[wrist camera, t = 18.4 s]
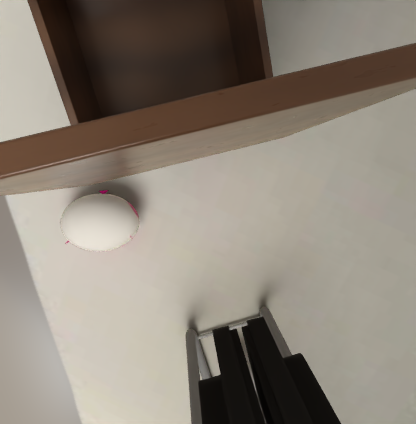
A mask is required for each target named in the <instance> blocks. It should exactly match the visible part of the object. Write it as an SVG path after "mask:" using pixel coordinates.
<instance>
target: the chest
mask: <svg viewBox="0 0 416 424" xmlns="http://www.w3.org/2000/svg"><path fill="white" fill-rule="evenodd" d="M27 1H28V3H29V6H30V9H31V12H32V15H33V18H34V21H35V24H36V26H37V29H38V32H39V35H40V38H41V41H42V44H43V46H44V49H45V52H46V55H47V58H48V61H49V64H50V66H51V69H52V72H53V75H54V78H55V81H56V84H57V87H58V89H59V92H60V95H61V98H62V101H63V104H64V107H65V109H66V112H67V115H68V118H69V121H70V124H71V125H75V124H79V123H83V122H87V121H91V120H96V119H100V118H104V117H108V116H112V115H116V114H121V113H125V112H129V111H133V110H137V109H142V108H146V107H150V106H154V105H158V104H162V103H167V102H171V101H175V100H179V99H183V98H188V97H192V96H196V95H200V94H204V93H208V92H213V91H217V90H221V89H225V88H229V87H233V86H238V85H242V84H246V83H250V82H254V81H259V80H263V79H267V78H271V77H273V73H272V66H271V60H270V53H269V47H268V40H267V34H266V27H265V21H264V14H263V8H262V1H261V0H27Z"/></svg>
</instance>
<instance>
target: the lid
mask: <svg viewBox="0 0 416 424" xmlns="http://www.w3.org/2000/svg"><path fill="white" fill-rule="evenodd" d="M413 89H416V43H413V44H409V45H405V46H401V47H396V48H392V49H388V50H384V51H380V52H376V53H371V54H367V55H363V56H359V57H355V58H350V59H346V60H342V61H338V62H334V63H330V64H325V65H321V66H317V67H313V68H309V69H304V70H300V71H296V72H292V73H288V74H284V75H279V76H275V77H271V78H267V79H263V80H259V81H254V82H250V83H246V84H242V85H238V86H233V87H229V88H225V89H221V90H217V91H213V92H208V93H204V94H200V95H196V96H192V97H188V98H183V99H179V100H175V101H171V102H167V103H162V104H158V105H154V106H150V107H146V108H142V109H137V110H133V111H129V112H125V113H121V114H116V115H112V116H108V117H104V118H100V119H96V120H91V121H87V122H83V123H79V124H75V125H71V126H66V127H62V128H58V129H54V130H50V131H45V132H41V133H37V134H33V135H29V136H25V137H20V138H16V139H12V140H8V141H4V142H0V196H3V195H12V194H21V193H29V192H37V191H46V190H54V189H62V188H71V187H79V186H87V185H93V184H97V183H101V182H105V181H109V180H113V179H117V178H121V177H125V176H129V175H133V174H138V173H142V172H146V171H150V170H154V169H158V168H162V167H166V166H170V165H174V164H178V163H182V162H186V161H190V160H194V159H198V158H202V157H206V156H210V155H214V154H219V153H223V152H227V151H231V150H235V149H239V148H243V147H247V146H251V145H255V144H259V143H263V142H267V141H271V140H275V139H279V138H283V137H286V136H289V135H292V134H294V133H297V132H300V131H302V130H305V129H308V128H311V127H313V126H316V125H319V124H321V123H324V122H327V121H329V120H332V119H335V118H338V117H340V116H343V115H346V114H348V113H351V112H354V111H356V110H359V109H362V108H365V107H367V106H370V105H373V104H375V103H378V102H381V101H383V100H386V99H389V98H392V97H394V96H397V95H400V94H402V93H405V92H408V91H410V90H413Z"/></svg>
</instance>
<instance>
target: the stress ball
mask: <svg viewBox="0 0 416 424" xmlns="http://www.w3.org/2000/svg"><path fill="white" fill-rule="evenodd" d="M107 191H109V190H103V191H99V192H101V193H102V194H91V195H87V196H84V197H81V198H79V199H77V200H75V201H74V202H72V203H71V204H70V205H69V206H68V207H67V208H66V209H65V211H64V212H63V214H62V217H61V222H60V225H61V230H62V233H63V235H64V236H65V237H66V239H67V240H68V241H67V242H66V243H68V242H70V243H72V244H73V245H75V246H77V247H79V248H81V249H84V250H88V251H97V252H100V251H109V250H113V249H116V248H119V247H121V246H123V245H125V244H126V243H127V242H129V241H130V240H131V239H132V238H133V237H134V235H135V234H136V232H137V230H138V227H139V217H138V214H137V211H136V210H135V208H134V207H133V206H132V205H131V204H130V203H129V202H128V201H126V200H125V199H123V198H121V197H118V196H115V195H111V194H105V193H106V192H107Z"/></svg>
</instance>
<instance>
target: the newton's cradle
mask: <svg viewBox="0 0 416 424" xmlns="http://www.w3.org/2000/svg"><path fill="white" fill-rule="evenodd" d="M259 313H260V317H262V316H263V317H264V319H265V321H266V323H267V325H268V327H269V330H270V332H271V334H272V336H273V338H274V340H275V342H276V345H277V347H278V349H279V351H280V353H281V355H282V357H283V358H284V357H288V356H291V355H292V354H291V352H290V350H289V348H288V346H287V344H286V342H285V340H284V338H283V336H282V334H281V332H280V330H279V328H278V326H277V324H276V322H275V320H274V318H273V316H272V314H271V312H270V311H269V309H268V308H266V307H262V308H261V309H260V312H259ZM245 325H247V321H246V322H243V323H240V324H237V325H233V326H230V327H229V329H230V330H231V329H235V328H238V327H241V326H245ZM212 335H213V332H210V333H207V334H203V335H200V336H197V334H196V332H195V331H194V330H193V329H189V330H187V332H186V348H187V363H188V378H189V392H190V407H191V422H192V424H202V417H201V407H200V397H199V387H198V381H200V375H199V370H200V373H201V376H202V379H203V380H204V379H208V378H211V375H210V372H209V369H208V366H207V363H206V360H205V357H204V354H203V351H202V348H201V345H200V342H199V339H202V338H205V337H208V336H212ZM247 364H248V368H249V371H250V374H251V377H252V381H253V384H254V387H255V383H254V379H253V374H252V370H251V366H250V363H248V362H247ZM255 390H256V387H255ZM256 393H257V391H256ZM257 397H258V395H257ZM258 400H259V399H258ZM259 403H260V402H259ZM261 410H262V409H261ZM262 413H263V412H262ZM263 416H264V415H263ZM265 423H266V422H265Z"/></svg>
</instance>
